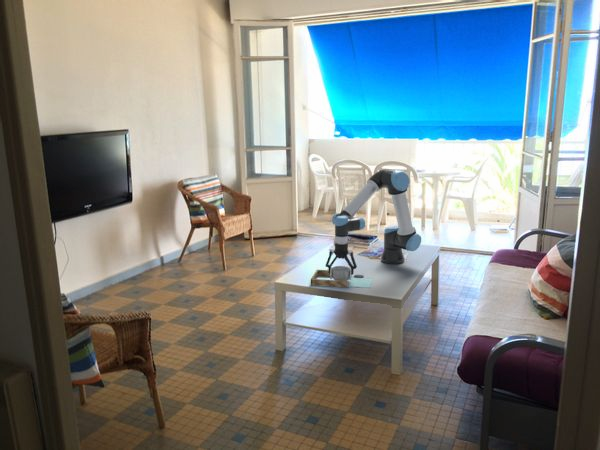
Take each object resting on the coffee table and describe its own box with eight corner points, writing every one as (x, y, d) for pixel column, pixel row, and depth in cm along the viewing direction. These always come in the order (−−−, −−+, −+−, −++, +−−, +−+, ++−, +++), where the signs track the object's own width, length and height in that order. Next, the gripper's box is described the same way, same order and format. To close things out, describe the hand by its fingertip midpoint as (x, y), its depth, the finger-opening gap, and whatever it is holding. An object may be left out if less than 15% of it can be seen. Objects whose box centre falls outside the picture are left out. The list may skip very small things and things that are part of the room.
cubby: (351, 277, 318) (351, 271, 317) (347, 287, 300) (347, 281, 299) (316, 275, 323) (316, 269, 322) (310, 285, 305) (310, 279, 304)
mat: (372, 279, 314) (372, 278, 314) (369, 288, 299) (369, 287, 299) (350, 277, 317) (350, 277, 317) (347, 286, 302) (347, 286, 302)
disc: (364, 275, 321) (364, 275, 321) (363, 278, 316) (363, 278, 316) (354, 274, 323) (354, 274, 323) (353, 277, 317) (353, 277, 317)
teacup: (330, 278, 316) (330, 265, 315) (348, 277, 317) (348, 264, 316) (334, 285, 303) (334, 272, 301) (353, 285, 304) (353, 271, 302)
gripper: (362, 242, 306) (361, 278, 311) (322, 240, 311) (322, 275, 316) (360, 245, 299) (359, 282, 304) (320, 243, 304) (320, 279, 309)
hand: (340, 278), depth 310 cm, fingers closed on teacup, 11 cm apart
